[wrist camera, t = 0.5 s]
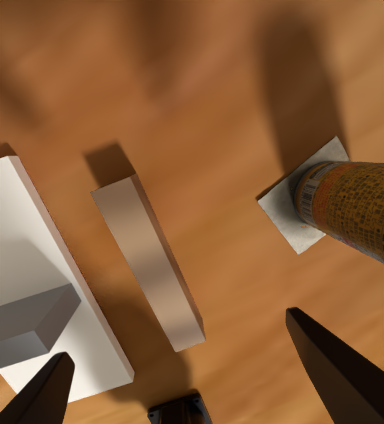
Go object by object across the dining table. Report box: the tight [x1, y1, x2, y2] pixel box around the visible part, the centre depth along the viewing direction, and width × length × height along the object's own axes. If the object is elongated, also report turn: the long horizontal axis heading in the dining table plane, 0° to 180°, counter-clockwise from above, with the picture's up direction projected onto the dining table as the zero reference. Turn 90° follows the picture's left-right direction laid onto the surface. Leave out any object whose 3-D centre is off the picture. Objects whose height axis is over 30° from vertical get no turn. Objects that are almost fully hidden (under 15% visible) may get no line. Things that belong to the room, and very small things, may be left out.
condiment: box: [258, 136, 384, 264], centre depth 13 cm, size 7×8×12 cm
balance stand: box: [0, 156, 135, 403], centre depth 16 cm, size 24×11×6 cm, turn 17°
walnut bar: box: [90, 174, 206, 352], centre depth 18 cm, size 16×3×3 cm, turn 20°
